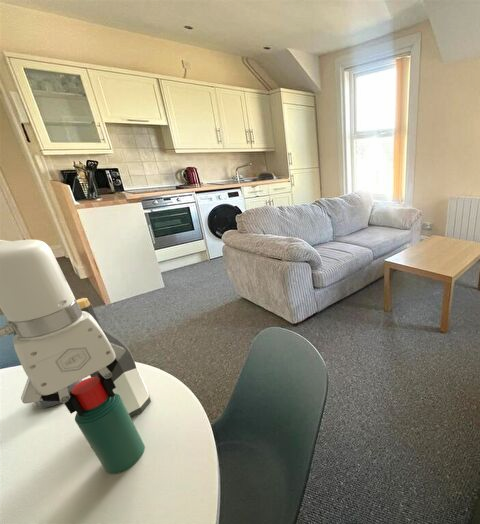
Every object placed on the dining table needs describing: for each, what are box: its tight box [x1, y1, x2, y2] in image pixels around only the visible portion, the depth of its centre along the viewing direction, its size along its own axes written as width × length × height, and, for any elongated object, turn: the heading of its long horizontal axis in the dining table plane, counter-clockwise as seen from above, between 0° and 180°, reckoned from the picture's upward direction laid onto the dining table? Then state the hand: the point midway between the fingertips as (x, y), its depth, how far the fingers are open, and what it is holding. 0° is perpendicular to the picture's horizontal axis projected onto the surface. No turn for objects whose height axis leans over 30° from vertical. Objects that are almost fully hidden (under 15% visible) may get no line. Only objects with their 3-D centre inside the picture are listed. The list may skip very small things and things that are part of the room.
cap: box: [71, 376, 108, 410], centre depth 51 cm, size 4×4×4 cm
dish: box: [33, 379, 83, 409], centre depth 73 cm, size 9×9×3 cm
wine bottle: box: [76, 297, 152, 419], centre depth 63 cm, size 8×8×30 cm
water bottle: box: [74, 393, 145, 475], centre depth 54 cm, size 7×7×19 cm
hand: (95, 401), depth 52 cm, fingers closed on cap, 3 cm apart
